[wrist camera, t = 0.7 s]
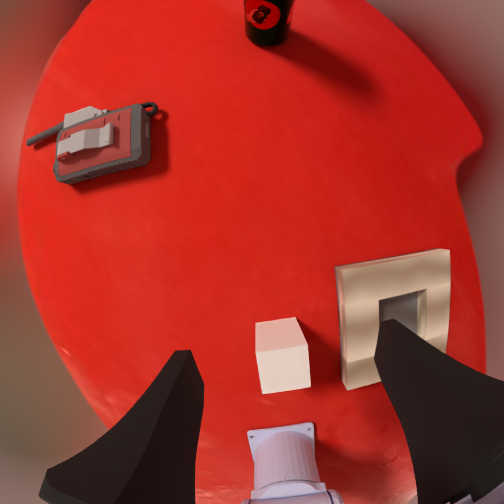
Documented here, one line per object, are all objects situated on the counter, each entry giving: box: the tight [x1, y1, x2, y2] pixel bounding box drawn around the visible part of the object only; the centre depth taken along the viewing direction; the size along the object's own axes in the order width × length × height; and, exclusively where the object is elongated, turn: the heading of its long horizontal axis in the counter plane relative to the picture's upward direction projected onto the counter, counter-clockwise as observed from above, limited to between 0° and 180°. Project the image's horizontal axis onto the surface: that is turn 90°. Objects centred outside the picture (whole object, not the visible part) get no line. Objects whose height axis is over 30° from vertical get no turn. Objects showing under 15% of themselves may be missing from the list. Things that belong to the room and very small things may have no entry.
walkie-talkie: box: [26, 102, 158, 184], centre depth 24 cm, size 9×4×20 cm
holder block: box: [335, 249, 450, 390], centre depth 26 cm, size 13×13×2 cm
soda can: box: [244, 0, 295, 46], centre depth 18 cm, size 5×5×12 cm
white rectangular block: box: [256, 317, 311, 394], centre depth 24 cm, size 4×4×7 cm
